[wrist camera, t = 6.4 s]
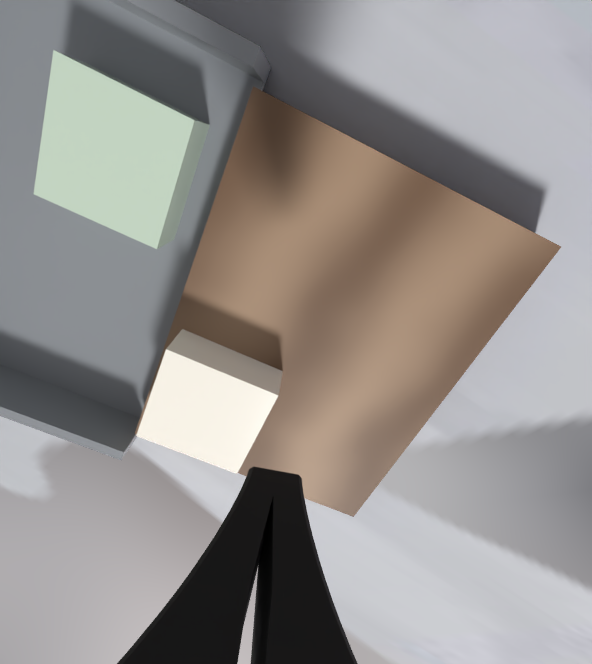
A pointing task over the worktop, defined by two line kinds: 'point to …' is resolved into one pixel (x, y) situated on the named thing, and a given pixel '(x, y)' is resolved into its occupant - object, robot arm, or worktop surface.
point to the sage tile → (116, 152)
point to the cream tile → (209, 401)
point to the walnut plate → (347, 294)
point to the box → (89, 236)
